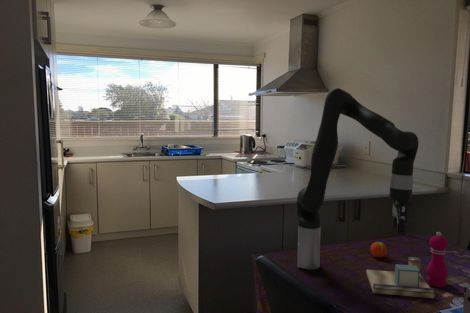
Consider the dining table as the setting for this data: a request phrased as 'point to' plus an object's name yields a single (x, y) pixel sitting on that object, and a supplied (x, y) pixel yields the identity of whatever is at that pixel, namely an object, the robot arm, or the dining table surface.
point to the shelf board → (385, 285)
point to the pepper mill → (437, 262)
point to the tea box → (407, 275)
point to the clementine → (378, 249)
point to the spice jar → (414, 262)
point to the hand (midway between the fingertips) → (398, 230)
